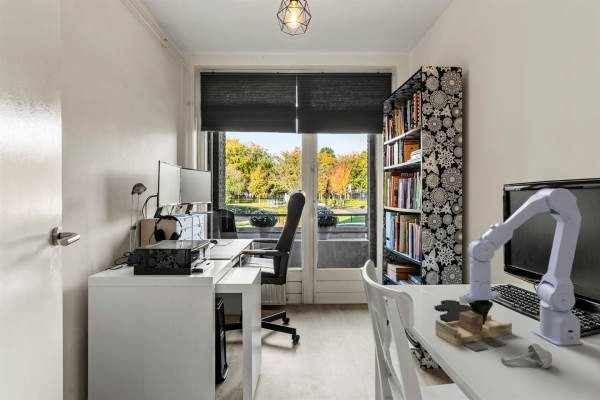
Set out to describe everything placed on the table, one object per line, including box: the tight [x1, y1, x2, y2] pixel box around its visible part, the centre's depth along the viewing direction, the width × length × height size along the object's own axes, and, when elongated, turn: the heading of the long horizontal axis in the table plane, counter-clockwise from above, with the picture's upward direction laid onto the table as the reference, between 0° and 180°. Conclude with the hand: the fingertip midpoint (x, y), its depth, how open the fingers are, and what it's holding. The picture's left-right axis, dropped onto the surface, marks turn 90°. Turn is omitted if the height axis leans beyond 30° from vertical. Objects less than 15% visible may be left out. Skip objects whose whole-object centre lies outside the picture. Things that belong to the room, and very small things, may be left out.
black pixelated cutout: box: [434, 299, 472, 323], centre depth 122 cm, size 16×1×30 cm
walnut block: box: [459, 311, 483, 332], centre depth 106 cm, size 4×4×4 cm
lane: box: [435, 314, 513, 353], centre depth 104 cm, size 22×13×4 cm, turn 110°
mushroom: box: [500, 342, 553, 370], centre depth 88 cm, size 7×5×12 cm
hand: (480, 324), depth 107 cm, fingers closed
